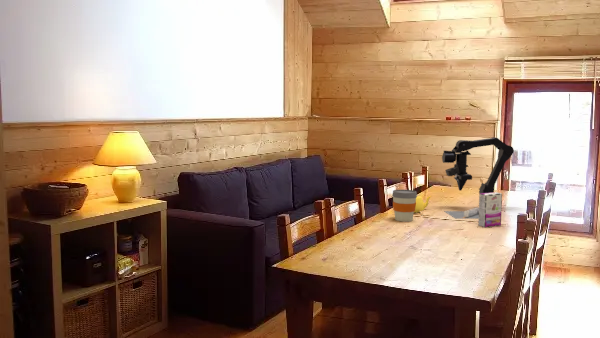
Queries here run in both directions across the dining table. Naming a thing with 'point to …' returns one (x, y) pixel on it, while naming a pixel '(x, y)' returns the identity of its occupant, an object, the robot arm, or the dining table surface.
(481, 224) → the candy bar box
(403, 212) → the reusable coffee cup
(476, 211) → the dial lever
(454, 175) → the robot arm
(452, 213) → the dial plate
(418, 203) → the teapot
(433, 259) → the dining table surface
